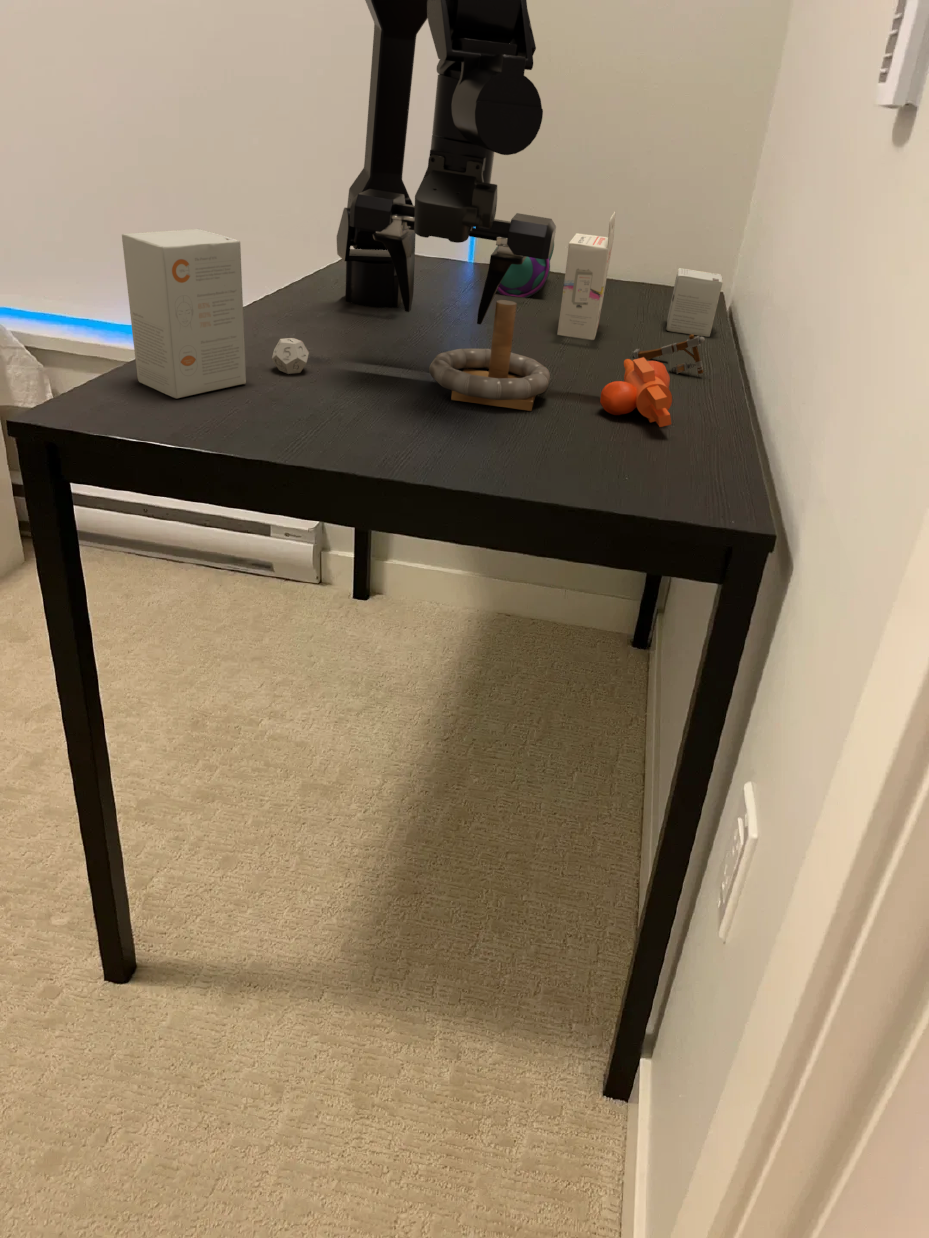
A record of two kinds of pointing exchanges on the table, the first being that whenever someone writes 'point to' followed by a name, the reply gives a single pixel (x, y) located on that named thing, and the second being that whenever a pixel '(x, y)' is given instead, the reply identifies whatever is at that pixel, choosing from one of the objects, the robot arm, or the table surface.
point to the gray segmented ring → (488, 387)
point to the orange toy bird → (640, 391)
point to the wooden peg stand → (499, 358)
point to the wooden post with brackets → (675, 348)
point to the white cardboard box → (694, 302)
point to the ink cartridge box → (585, 284)
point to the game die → (290, 355)
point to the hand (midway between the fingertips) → (443, 317)
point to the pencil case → (525, 277)
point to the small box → (186, 310)
